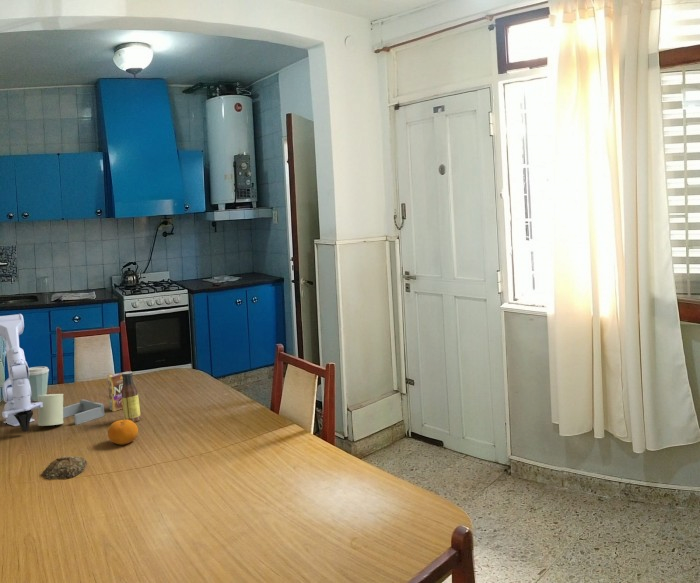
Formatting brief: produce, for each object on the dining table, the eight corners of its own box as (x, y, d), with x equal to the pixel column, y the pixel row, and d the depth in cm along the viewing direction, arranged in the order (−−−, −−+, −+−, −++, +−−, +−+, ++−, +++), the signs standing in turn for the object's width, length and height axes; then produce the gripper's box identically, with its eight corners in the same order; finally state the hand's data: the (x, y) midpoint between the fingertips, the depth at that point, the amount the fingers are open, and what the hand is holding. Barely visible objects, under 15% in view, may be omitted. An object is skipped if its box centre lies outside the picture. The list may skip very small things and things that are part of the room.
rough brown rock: (91, 463, 208) (90, 449, 208) (77, 479, 196) (75, 464, 195) (53, 465, 208) (51, 451, 207) (35, 481, 196) (34, 466, 195)
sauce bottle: (143, 417, 253) (139, 370, 250) (136, 423, 247) (132, 374, 244) (128, 418, 254) (124, 370, 251) (121, 423, 248) (116, 374, 245)
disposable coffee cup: (26, 398, 288) (23, 366, 286) (52, 394, 292) (49, 363, 290) (25, 404, 278) (21, 371, 276) (51, 400, 283) (48, 368, 281)
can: (36, 424, 248) (36, 394, 249) (61, 422, 252) (61, 392, 254) (39, 426, 240) (39, 395, 241) (65, 424, 245) (65, 393, 246)
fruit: (107, 449, 220) (105, 427, 219) (110, 439, 230) (108, 418, 229) (138, 445, 223) (136, 423, 222) (139, 435, 233) (138, 415, 232)
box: (56, 419, 255) (54, 407, 255) (84, 410, 266) (83, 399, 265) (76, 424, 247) (75, 412, 247) (104, 415, 258) (103, 404, 257)
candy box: (113, 412, 262) (110, 376, 260) (109, 409, 265) (106, 375, 263) (133, 406, 268) (131, 372, 266) (129, 404, 271) (126, 370, 270)
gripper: (7, 402, 228) (11, 438, 229) (45, 392, 240) (49, 426, 241) (-3, 399, 232) (1, 434, 233) (35, 389, 243) (39, 423, 245)
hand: (25, 430), depth 237 cm, fingers closed
